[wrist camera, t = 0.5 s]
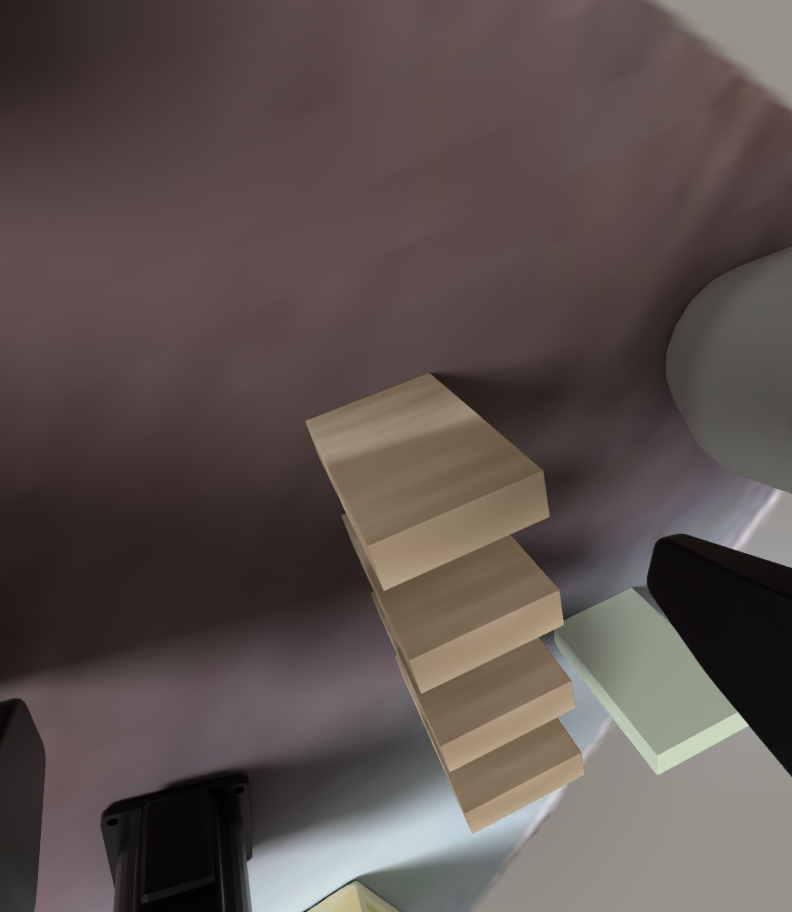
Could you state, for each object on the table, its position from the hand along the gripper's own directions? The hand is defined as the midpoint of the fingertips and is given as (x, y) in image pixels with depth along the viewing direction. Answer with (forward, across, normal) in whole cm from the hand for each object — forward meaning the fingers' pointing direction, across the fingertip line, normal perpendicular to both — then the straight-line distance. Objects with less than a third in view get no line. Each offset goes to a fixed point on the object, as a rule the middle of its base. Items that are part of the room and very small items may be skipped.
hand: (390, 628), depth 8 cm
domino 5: (+14, -16, +17) cm, 27 cm away
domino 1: (+14, -4, +3) cm, 14 cm away
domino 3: (+14, -6, +12) cm, 19 cm away
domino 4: (+14, -7, +16) cm, 22 cm away
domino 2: (+14, -5, +7) cm, 16 cm away
